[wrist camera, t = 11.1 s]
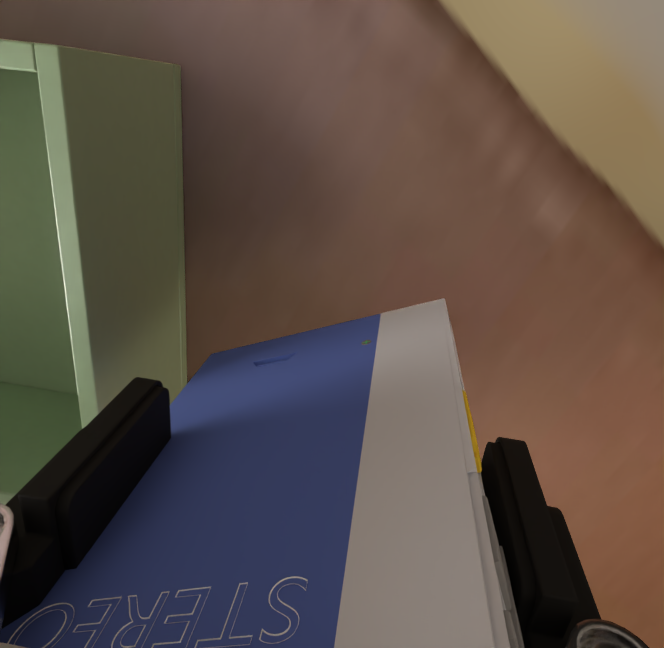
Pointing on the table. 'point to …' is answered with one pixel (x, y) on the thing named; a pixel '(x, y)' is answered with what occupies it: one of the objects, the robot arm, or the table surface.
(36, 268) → the chest
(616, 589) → the table surface
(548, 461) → the table surface
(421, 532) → the walkman
